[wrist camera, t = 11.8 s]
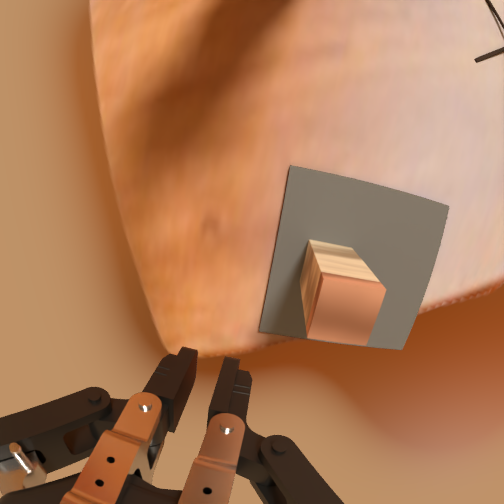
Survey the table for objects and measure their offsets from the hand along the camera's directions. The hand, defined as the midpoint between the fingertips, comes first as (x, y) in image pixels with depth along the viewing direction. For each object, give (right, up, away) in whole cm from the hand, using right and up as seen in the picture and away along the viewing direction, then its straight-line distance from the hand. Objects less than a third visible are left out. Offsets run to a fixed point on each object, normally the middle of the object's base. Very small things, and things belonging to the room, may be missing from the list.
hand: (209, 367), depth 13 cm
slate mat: (+14, +3, +19) cm, 24 cm away
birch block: (+10, +4, +19) cm, 22 cm away
